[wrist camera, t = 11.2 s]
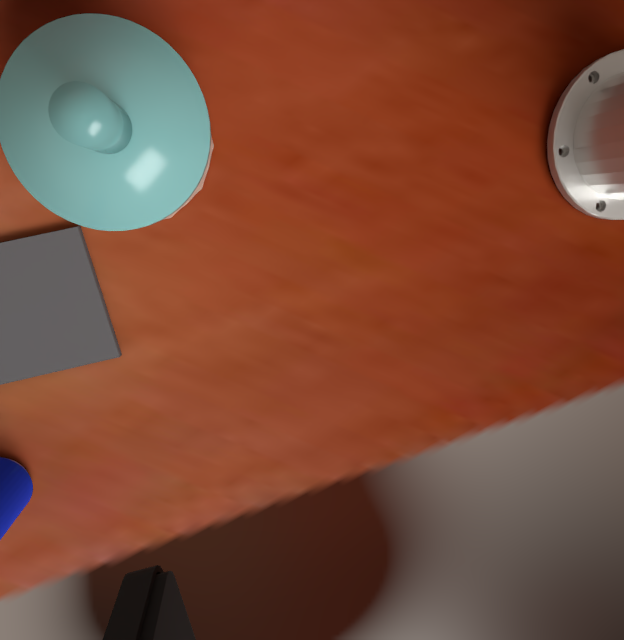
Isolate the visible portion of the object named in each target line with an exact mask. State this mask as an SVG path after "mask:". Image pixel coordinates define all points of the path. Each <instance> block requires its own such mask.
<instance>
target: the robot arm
mask: <svg viewBox="0 0 624 640" xmlns="http://www.w3.org/2000/svg"><path fill="white" fill-rule="evenodd" d="M547 154H548V162H549V167H550V171H551V175H552V177H553V179H554V182H555V184H556V186H557V188H558V190H559V191H560V192H561V194H562V195H563V197H564V198H565V199H566V200H567V201H568V202H569V203H570V204H571V205H572V206H573V207H574V208H576V209H577V210H579V211H581V212H583V213H584V214H586V215H589V216H592V217H595V218H599V219H609V220H624V49H623V50H620V51H617V52H613V53H611V54H608V55H606V56H604V57H602V58H600V59H597V60H596V61H594V62H593V63H591V64H590V65H588V66H587V67H585V68H584V69H583V70H582V71H581V72H580V73H579V74H578V75H577V76H576V77H575V78H574V79H573V80H572V81H571V82H570V84H569V85H568V86H567V88H566V89H565V91H564V92H563V93H562V95H561V97H560V99H559V101H558V103H557V105H556V107H555V109H554V112H553V115H552V119H551V122H550V125H549V132H548V139H547ZM103 640H196V639H195V636H194V633H193V630H192V627H191V624H190V621H189V618H188V615H187V612H186V609H185V606H184V603H183V600H182V597H181V594H180V591H179V588H178V585H177V582H176V579H175V576H174V574H173V572H172V571H168V572H163V570H162V568H161V567H160V566H158V565H157V566H153V567H149V568H145V569H141V570H138V571H134V572H130V573H127V574H126V575H125V577H124V579H123V581H122V585H121V587H120V590H119V593H118V597H117V599H116V602H115V605H114V608H113V611H112V614H111V617H110V620H109V623H108V626H107V629H106V632H105V635H104V638H103Z"/></svg>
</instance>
